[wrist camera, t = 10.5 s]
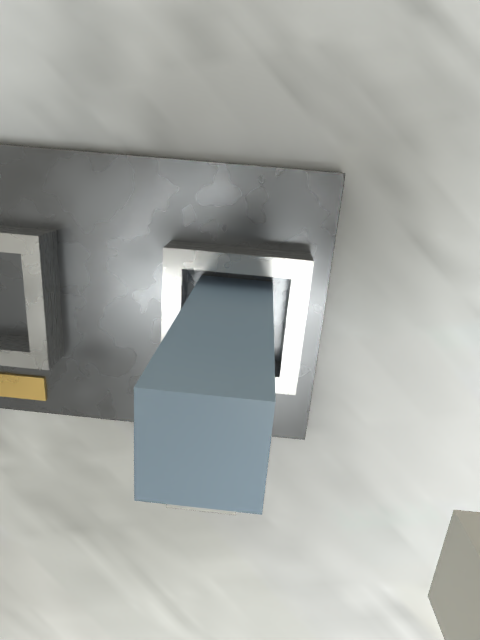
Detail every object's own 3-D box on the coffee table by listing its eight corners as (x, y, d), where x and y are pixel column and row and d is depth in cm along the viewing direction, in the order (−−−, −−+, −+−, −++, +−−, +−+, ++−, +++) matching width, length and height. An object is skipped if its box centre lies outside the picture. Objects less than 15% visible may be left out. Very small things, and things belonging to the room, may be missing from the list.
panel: (-55, 393, 30) (-89, 418, 27) (-99, 135, 24) (-148, 132, 21) (303, 430, 29) (307, 459, 26) (342, 172, 23) (352, 174, 20)
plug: (197, 357, 26) (134, 527, 14) (201, 275, 25) (133, 387, 12) (263, 364, 26) (258, 541, 14) (272, 281, 25) (275, 402, 12)
